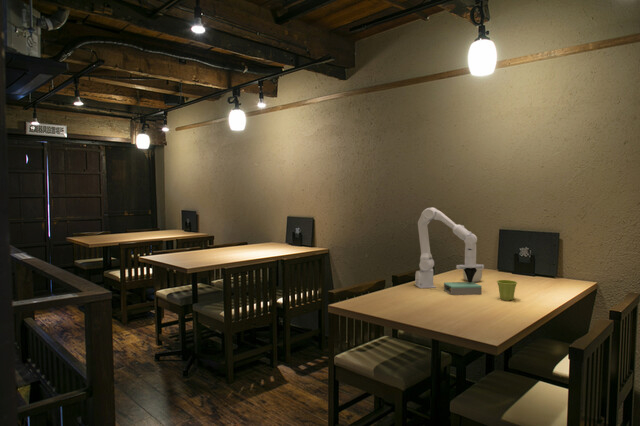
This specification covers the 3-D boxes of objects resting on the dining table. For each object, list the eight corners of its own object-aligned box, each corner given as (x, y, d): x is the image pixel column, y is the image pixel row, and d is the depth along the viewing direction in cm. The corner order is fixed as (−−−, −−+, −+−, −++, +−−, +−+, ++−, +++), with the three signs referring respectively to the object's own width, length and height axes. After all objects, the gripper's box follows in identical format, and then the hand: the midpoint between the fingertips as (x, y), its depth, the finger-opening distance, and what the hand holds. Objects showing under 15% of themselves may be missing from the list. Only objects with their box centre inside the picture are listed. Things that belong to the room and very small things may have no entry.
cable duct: (451, 295, 218) (451, 288, 218) (443, 290, 228) (444, 283, 228) (481, 294, 220) (481, 287, 220) (472, 289, 230) (472, 283, 230)
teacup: (484, 283, 246) (485, 269, 245) (465, 283, 246) (466, 269, 245) (476, 278, 260) (476, 265, 259) (458, 278, 260) (458, 265, 259)
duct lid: (451, 288, 218) (451, 286, 218) (444, 283, 228) (444, 282, 228) (481, 287, 220) (481, 285, 220) (472, 283, 230) (472, 281, 230)
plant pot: (495, 300, 209) (495, 282, 208) (497, 295, 217) (497, 278, 217) (516, 302, 204) (516, 284, 204) (517, 297, 213) (517, 280, 212)
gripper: (460, 258, 221) (460, 284, 221) (487, 257, 222) (486, 283, 223) (454, 256, 228) (454, 281, 228) (480, 255, 229) (480, 280, 230)
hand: (469, 282), depth 226 cm, fingers closed
